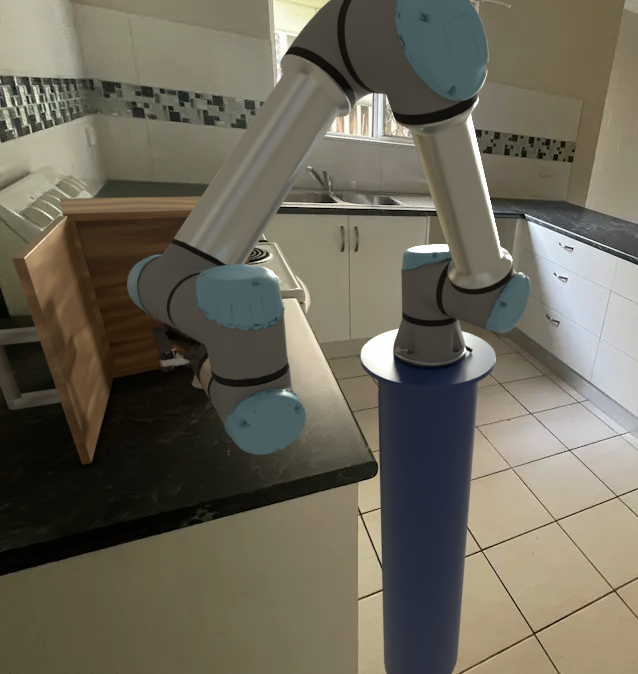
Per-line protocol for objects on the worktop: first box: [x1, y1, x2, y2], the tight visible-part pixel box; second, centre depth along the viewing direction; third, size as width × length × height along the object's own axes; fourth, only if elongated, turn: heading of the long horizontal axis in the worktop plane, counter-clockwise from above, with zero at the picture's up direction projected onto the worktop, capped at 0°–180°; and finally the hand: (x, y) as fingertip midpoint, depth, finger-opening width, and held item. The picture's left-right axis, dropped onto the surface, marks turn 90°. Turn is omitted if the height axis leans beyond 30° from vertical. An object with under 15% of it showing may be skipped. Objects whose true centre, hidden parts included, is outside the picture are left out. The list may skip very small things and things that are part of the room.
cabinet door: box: [0, 215, 114, 466], centre depth 65 cm, size 6×24×28 cm, turn 31°
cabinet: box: [59, 196, 250, 379], centre depth 89 cm, size 14×24×28 cm, turn 131°
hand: (191, 312), depth 75 cm, fingers closed on chalice, 5 cm apart
